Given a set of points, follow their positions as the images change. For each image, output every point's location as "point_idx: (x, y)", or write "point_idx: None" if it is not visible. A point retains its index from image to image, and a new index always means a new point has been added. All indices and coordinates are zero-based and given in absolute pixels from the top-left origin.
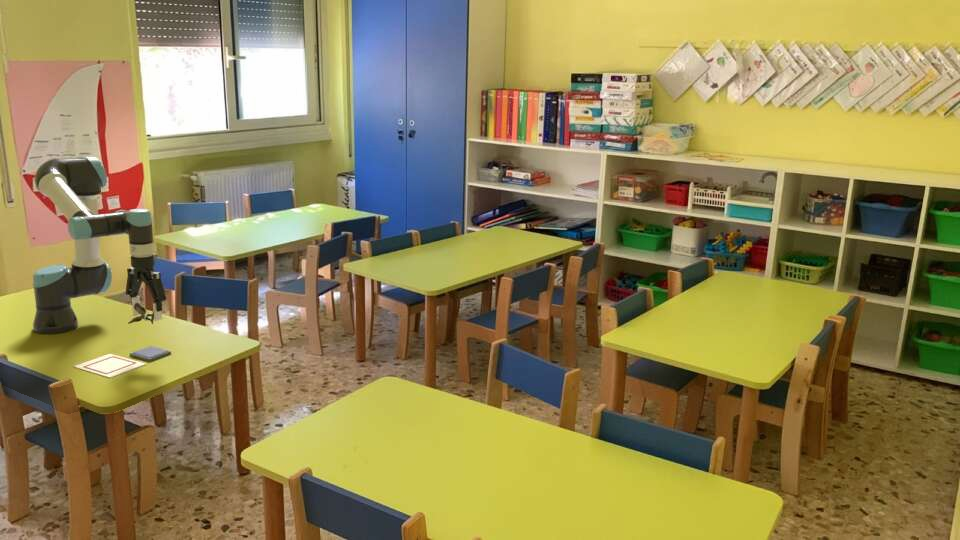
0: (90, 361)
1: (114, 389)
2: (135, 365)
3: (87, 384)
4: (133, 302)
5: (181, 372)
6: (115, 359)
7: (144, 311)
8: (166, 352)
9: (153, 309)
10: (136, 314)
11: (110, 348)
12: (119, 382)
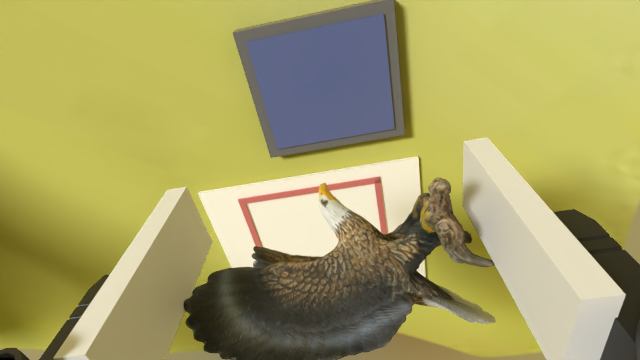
0: (238, 263)
1: (514, 304)
2: (400, 191)
3: (412, 326)
4: (164, 355)
5: (635, 102)
6: (278, 208)
7: (397, 306)
8: (392, 28)
9: (513, 293)
10: (202, 231)
11: (120, 159)
12: (482, 278)
